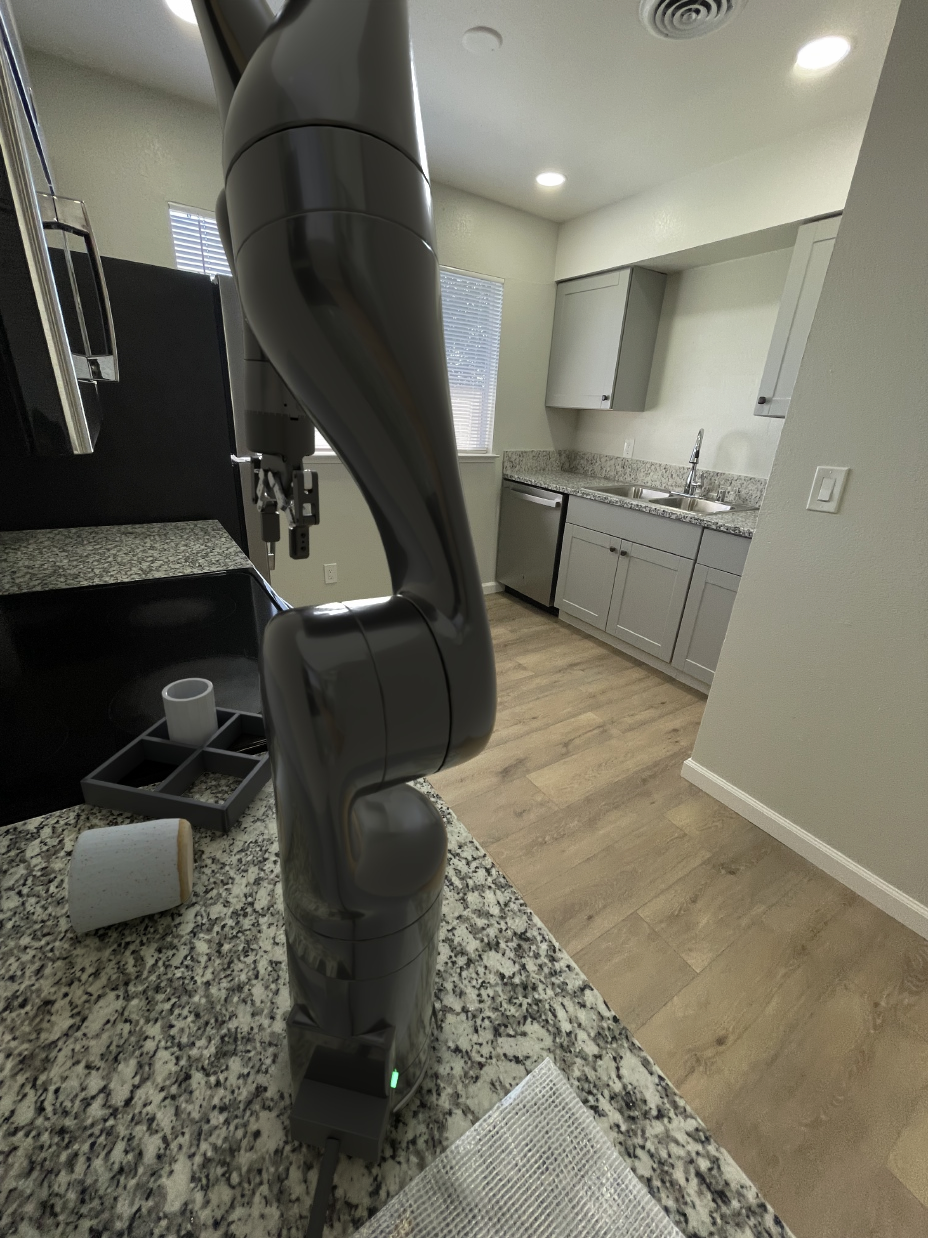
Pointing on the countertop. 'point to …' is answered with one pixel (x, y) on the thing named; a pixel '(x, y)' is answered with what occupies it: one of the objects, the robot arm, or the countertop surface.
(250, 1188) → the countertop surface
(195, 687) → the white tumbler
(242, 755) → the dark grey divided tray
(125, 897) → the ceramic mug
